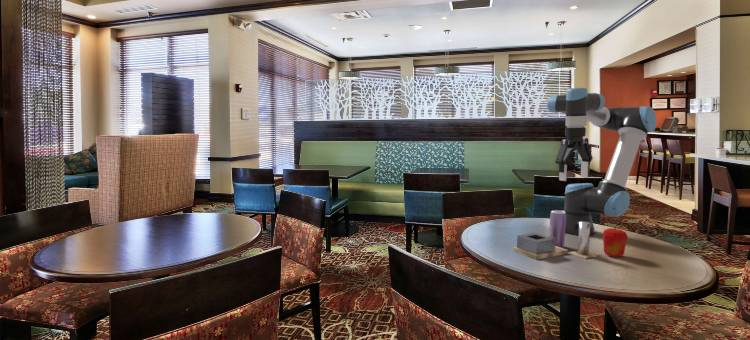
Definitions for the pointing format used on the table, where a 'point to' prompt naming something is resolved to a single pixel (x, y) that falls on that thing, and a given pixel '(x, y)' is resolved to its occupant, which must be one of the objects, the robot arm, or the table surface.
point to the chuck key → (583, 237)
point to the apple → (614, 242)
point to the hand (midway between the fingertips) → (573, 178)
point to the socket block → (536, 243)
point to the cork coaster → (583, 255)
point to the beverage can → (558, 227)
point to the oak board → (539, 256)
